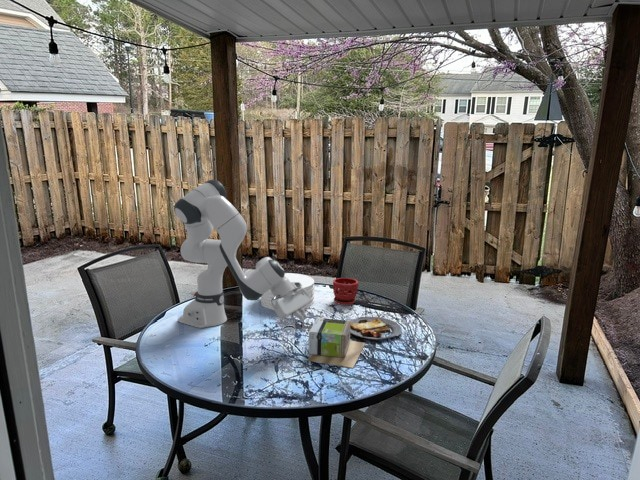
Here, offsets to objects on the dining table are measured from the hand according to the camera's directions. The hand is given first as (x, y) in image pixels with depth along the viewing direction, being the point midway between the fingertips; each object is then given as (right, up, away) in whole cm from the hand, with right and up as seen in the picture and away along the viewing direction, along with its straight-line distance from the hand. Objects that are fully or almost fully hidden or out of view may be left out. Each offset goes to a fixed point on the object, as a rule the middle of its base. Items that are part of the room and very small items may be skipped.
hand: (304, 319), depth 177 cm
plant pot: (+20, -1, +55) cm, 58 cm away
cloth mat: (+13, -13, -1) cm, 19 cm away
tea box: (+3, -7, +2) cm, 8 cm away
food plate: (+30, -9, +20) cm, 37 cm away
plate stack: (-11, -1, +55) cm, 56 cm away
